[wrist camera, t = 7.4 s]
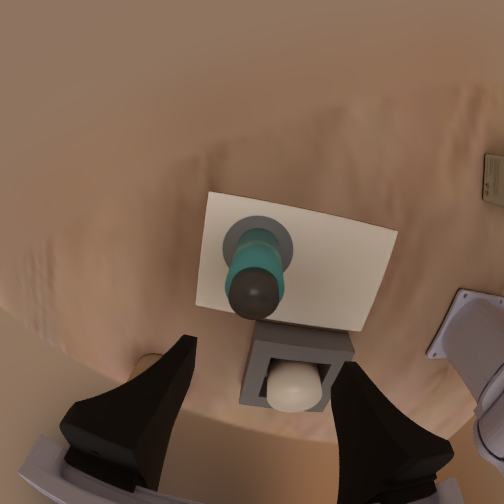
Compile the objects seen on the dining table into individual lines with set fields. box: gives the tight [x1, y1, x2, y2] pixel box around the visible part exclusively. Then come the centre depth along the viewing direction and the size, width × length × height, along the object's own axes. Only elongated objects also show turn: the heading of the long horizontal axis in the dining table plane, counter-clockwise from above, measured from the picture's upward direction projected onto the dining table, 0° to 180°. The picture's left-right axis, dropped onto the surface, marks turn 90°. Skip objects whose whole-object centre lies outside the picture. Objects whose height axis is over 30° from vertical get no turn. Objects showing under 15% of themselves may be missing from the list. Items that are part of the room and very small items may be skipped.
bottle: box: [225, 228, 285, 320], centre depth 16 cm, size 3×3×7 cm
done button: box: [267, 358, 322, 413], centre depth 21 cm, size 4×4×3 cm
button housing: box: [239, 320, 355, 412], centre depth 22 cm, size 8×8×3 cm
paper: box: [196, 191, 398, 332], centre depth 20 cm, size 14×9×1 cm, turn 80°
